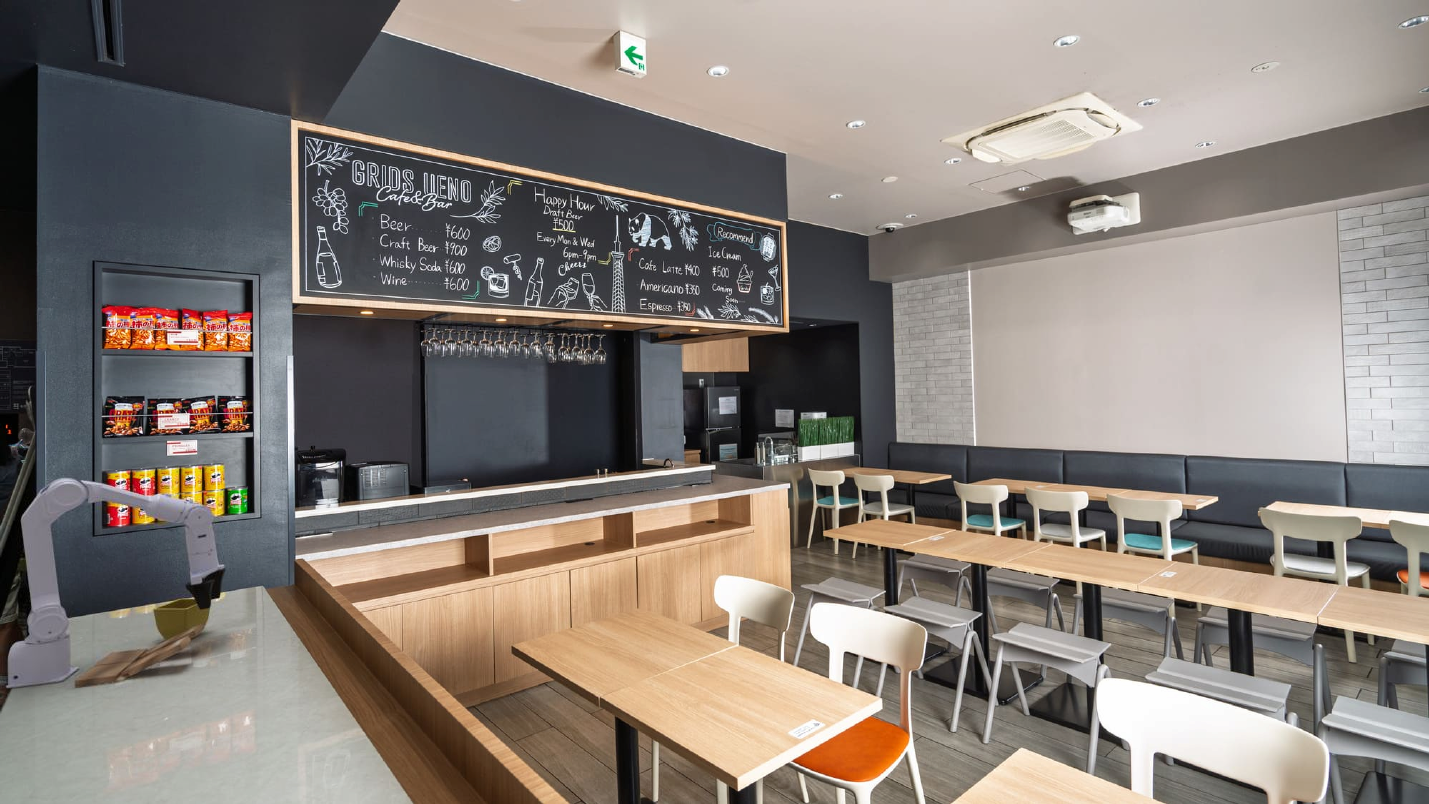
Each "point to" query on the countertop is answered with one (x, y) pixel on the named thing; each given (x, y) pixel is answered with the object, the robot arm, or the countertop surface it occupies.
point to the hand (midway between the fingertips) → (210, 603)
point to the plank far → (174, 640)
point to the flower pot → (179, 617)
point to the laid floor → (110, 668)
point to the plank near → (157, 657)
